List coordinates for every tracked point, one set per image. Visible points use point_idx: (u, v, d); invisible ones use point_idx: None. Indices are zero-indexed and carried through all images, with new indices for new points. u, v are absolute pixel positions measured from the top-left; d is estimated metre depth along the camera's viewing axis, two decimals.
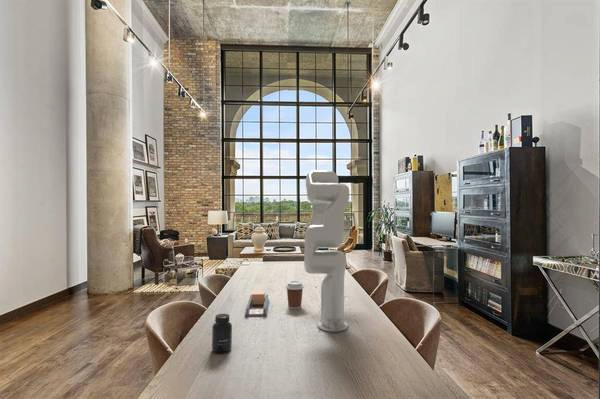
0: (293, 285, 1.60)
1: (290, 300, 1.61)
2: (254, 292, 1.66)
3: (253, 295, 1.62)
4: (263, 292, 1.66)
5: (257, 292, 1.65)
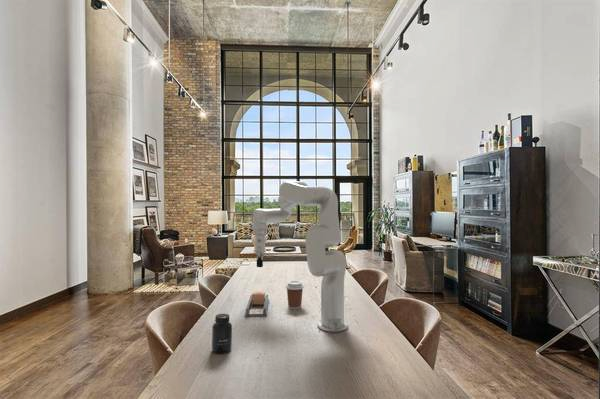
0: (293, 285, 1.60)
1: (290, 300, 1.61)
2: (254, 292, 1.66)
3: (253, 295, 1.62)
4: (263, 292, 1.66)
5: (257, 292, 1.65)
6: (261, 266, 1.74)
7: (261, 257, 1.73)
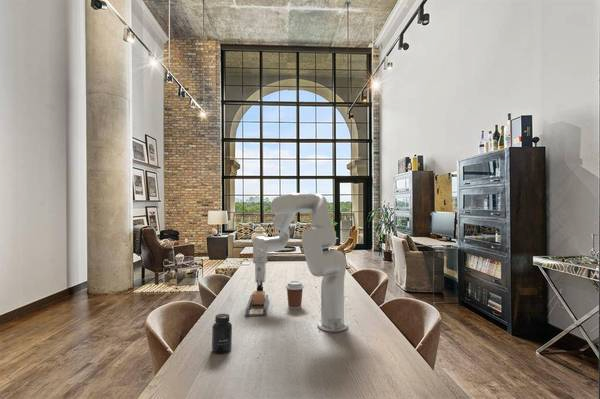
0: (293, 285, 1.60)
1: (290, 300, 1.61)
2: (254, 292, 1.66)
3: (253, 295, 1.62)
4: (263, 292, 1.66)
5: (257, 292, 1.65)
6: None
7: (261, 285, 1.73)
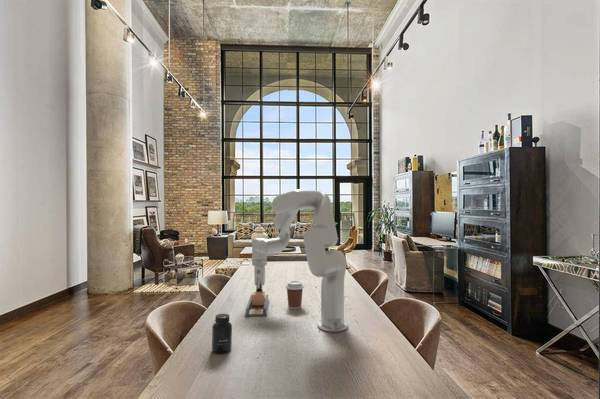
0: (293, 285, 1.60)
1: (290, 300, 1.61)
2: (254, 293, 1.64)
3: (253, 296, 1.61)
4: (263, 293, 1.64)
5: (257, 293, 1.64)
6: None
7: (261, 288, 1.68)
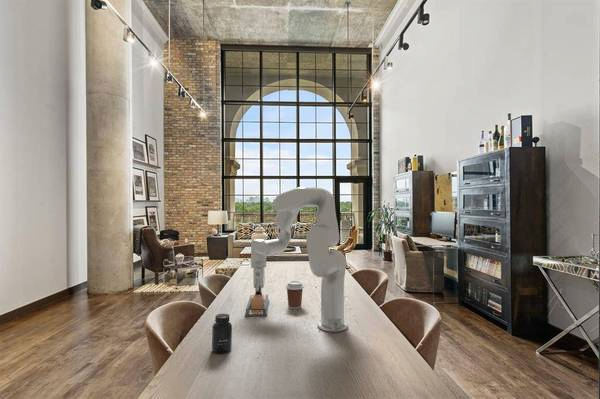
0: (293, 285, 1.60)
1: (290, 300, 1.61)
2: (253, 296, 1.59)
3: (252, 299, 1.56)
4: (262, 296, 1.59)
5: (256, 296, 1.58)
6: None
7: (260, 291, 1.62)
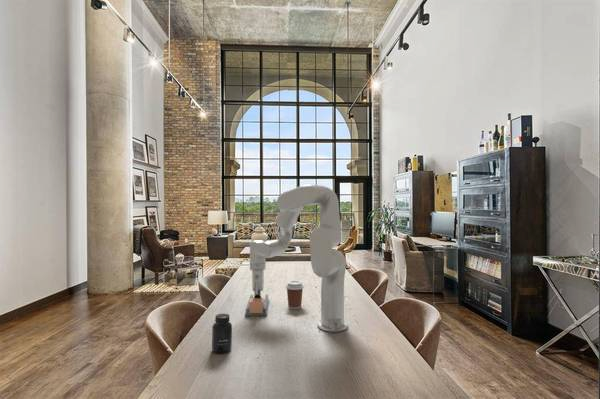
0: (293, 285, 1.60)
1: (290, 300, 1.61)
2: (252, 299, 1.53)
3: (250, 303, 1.50)
4: (261, 299, 1.53)
5: (255, 300, 1.53)
6: None
7: (259, 294, 1.57)
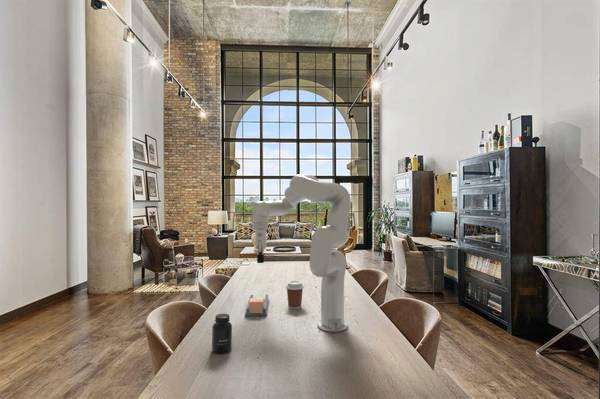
0: (293, 285, 1.60)
1: (290, 300, 1.61)
2: (252, 300, 1.53)
3: (250, 303, 1.50)
4: (261, 300, 1.53)
5: (255, 300, 1.53)
6: (262, 262, 1.65)
7: (262, 252, 1.63)
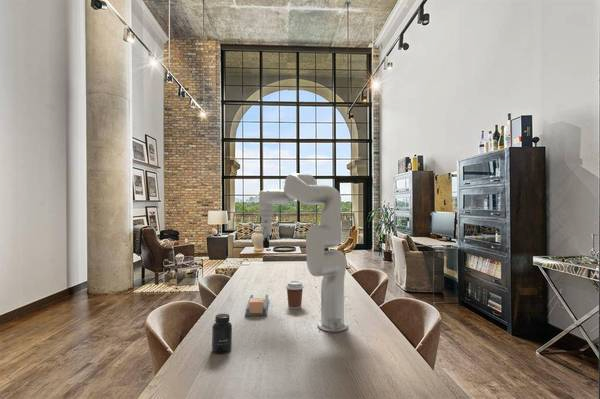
0: (293, 285, 1.60)
1: (290, 300, 1.61)
2: (252, 300, 1.53)
3: (250, 303, 1.50)
4: (261, 300, 1.53)
5: (255, 300, 1.53)
6: (267, 247, 1.76)
7: (267, 238, 1.75)
